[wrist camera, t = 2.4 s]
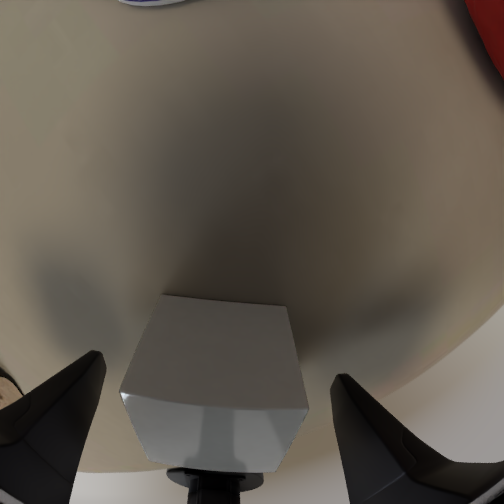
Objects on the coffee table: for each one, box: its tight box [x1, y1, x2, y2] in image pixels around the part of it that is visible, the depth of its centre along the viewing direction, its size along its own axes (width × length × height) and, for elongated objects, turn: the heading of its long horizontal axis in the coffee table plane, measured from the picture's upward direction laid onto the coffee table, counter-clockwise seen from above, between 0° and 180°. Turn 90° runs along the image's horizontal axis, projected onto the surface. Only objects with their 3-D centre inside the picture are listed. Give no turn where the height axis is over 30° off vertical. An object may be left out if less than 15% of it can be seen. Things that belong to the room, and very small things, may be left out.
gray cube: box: [119, 295, 309, 472], centre depth 8 cm, size 5×5×5 cm
